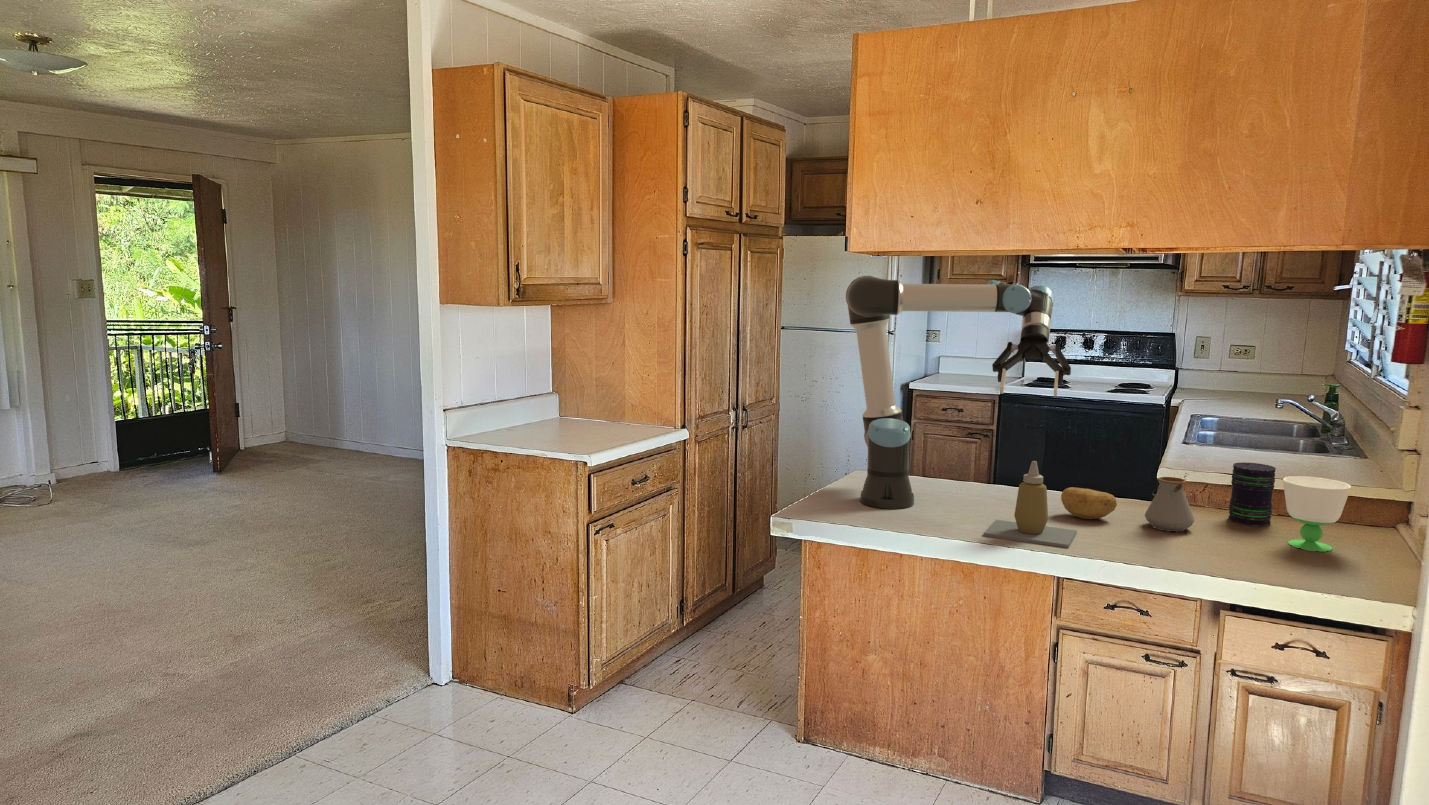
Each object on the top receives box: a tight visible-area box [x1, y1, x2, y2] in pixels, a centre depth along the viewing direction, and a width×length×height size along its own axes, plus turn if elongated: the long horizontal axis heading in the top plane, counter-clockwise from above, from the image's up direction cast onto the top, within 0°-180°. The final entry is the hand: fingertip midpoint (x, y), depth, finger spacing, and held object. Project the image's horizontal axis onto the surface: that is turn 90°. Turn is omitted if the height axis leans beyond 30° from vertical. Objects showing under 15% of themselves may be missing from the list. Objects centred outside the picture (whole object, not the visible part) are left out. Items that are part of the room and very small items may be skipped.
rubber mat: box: [983, 519, 1078, 549], centre depth 225 cm, size 20×14×1 cm
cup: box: [1282, 475, 1352, 553], centre depth 215 cm, size 14×14×16 cm
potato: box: [1060, 486, 1118, 520], centre depth 240 cm, size 10×14×8 cm
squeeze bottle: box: [1014, 460, 1049, 534], centre depth 224 cm, size 8×8×18 cm
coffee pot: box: [1144, 476, 1195, 533], centre depth 226 cm, size 21×12×15 cm, turn 159°
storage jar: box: [1228, 462, 1277, 527], centre depth 237 cm, size 10×10×15 cm
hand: (1028, 391), depth 240 cm, fingers open, 13 cm apart
